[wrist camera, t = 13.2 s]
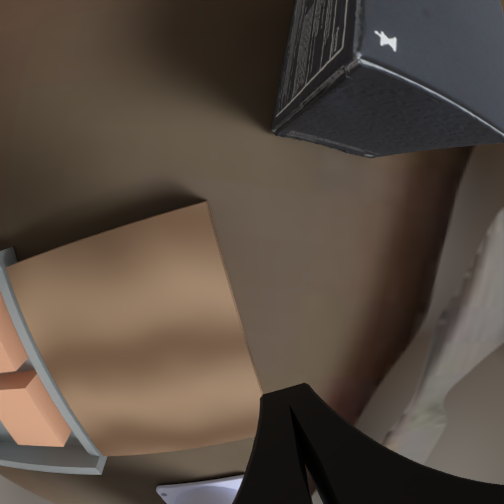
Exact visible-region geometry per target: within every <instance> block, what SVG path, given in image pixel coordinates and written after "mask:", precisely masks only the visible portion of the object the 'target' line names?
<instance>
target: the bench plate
mask: <svg viewBox="0 0 504 504" xmlns="http://www.w3.org/2000/svg"><path fill="white" fill-rule="evenodd" d="M6 271H7V274H8V277H9V280H10V282H11V285H12V288H13V291H14V294H15V296H16V299H17V302H18V304H19V307H20V309H21V312H22V314H23V317H24V319H25V321H26V324H27V326H28V328H29V331H30V333H31V335H32V337H33V339H34V342H35V344H36V346H37V348H38V350H39V352H40V354H41V356H42V358H43V360H44V362H45V364H46V366H47V368H48V370H49V372H50V374H51V375H52V377H53V379H54V381H55V383H56V385H57V386H58V388H59V390H60V392H61V393H62V395H63V397H64V398H65V400H66V402H67V403H68V405H69V407H70V408H71V410H72V411H73V413H74V415H75V416H76V418H77V419H78V421H79V422H80V424H81V425H82V427H83V428H84V430H85V431H86V433H87V434H88V436H89V437H90V439H91V440H92V441H93V443H94V444H95V446H96V447H97V448H98V450H99V451H100V452H101V454H102V455H103V456H124V455H139V454H151V453H161V452H170V451H178V450H185V449H192V448H198V447H204V446H210V445H216V444H221V443H227V442H232V441H236V440H241V439H246V438H250V437H254V436H255V435H256V431H257V426H258V419H259V411H260V398H261V396H262V395H263V392H262V388H261V385H260V382H259V379H258V376H257V372H256V369H255V366H254V362H253V359H252V356H251V353H250V349H249V346H248V343H247V339H246V336H245V333H244V329H243V326H242V322H241V319H240V316H239V312H238V309H237V305H236V302H235V298H234V295H233V291H232V288H231V284H230V281H229V277H228V274H227V270H226V267H225V263H224V260H223V256H222V253H221V249H220V245H219V242H218V238H217V234H216V231H215V227H214V223H213V220H212V216H211V212H210V208H209V205H208V201H207V200H206V201H203V202H199V203H195V204H192V205H188V206H185V207H181V208H178V209H174V210H171V211H168V212H164V213H161V214H157V215H154V216H151V217H147V218H144V219H141V220H138V221H134V222H131V223H128V224H125V225H122V226H119V227H115V228H112V229H109V230H106V231H103V232H100V233H97V234H94V235H91V236H88V237H85V238H82V239H79V240H76V241H73V242H71V243H68V244H65V245H62V246H59V247H56V248H54V249H51V250H48V251H45V252H43V253H40V254H37V255H34V256H32V257H29V258H26V259H24V260H21V261H19V262H17V263H15V264H13V265H10V266H8V267H6Z"/></svg>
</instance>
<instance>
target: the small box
mask: <svg viewBox="0 0 504 504" xmlns="http://www.w3.org/2000/svg"><path fill="white" fill-rule="evenodd" d="M271 130H272V132H273V133H274V134H275V135H276V136H278V135H280V136H281V137H288V138H289V137H293V138H297V139H298V140H306V141H308V142H314V143H316V144H322V145H326V146H329V147H330V148H336V149H339V150H343V151H344V152H346V153H350V154H355V155H360V156H365V157H368V158H375V157H381V156H387V155H393V154H401V153H408V152H415V151H422V150H423V151H424V150H431V149H441V148H450V147H462V146H472V145H481V144H492V143H493V144H494V143H504V15H503V10H502V6H501V2H500V0H295V4H294V10H293V15H292V20H291V23H290V30H289V35H288V40H287V46H286V50H285V56H284V60H283V64H282V70H281V77H280V82H279V85H278V92H277V99H276V104H275V111H274V116H273V122H272V126H271Z"/></svg>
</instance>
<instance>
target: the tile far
mask: <svg viewBox="0 0 504 504" xmlns="http://www.w3.org/2000/svg"><path fill="white" fill-rule="evenodd" d="M0 420H1V422H2V423H3V425H4V426H5V428H6V429H7V430H8V432H9V433H10V435H11V436H12V437H13V439H14V440H15V441H16V443H17V444H18V445H31V446H53V447H64V445H65V443H66V441H67V439H68V437H69V435H70V433H71V431H72V430H71V428H70V427H69V425H68V424H67V422H66V421H65V419H64V418H63V416H62V415H61V413H60V411H59V410H58V408H57V407H56V405H55V403H54V402H53V400H52V399H51V397H50V395H49V393H48V392H47V390H46V388H45V387H44V385H43V383H42V381H41V379H40V378H39V376H38V374H37V372H36V370H29V371H21V372H13V373H4V374H0Z"/></svg>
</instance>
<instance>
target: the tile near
mask: <svg viewBox="0 0 504 504" xmlns="http://www.w3.org/2000/svg"><path fill="white" fill-rule="evenodd" d="M28 358H29V357H28V355H27V353H26V350H25V348H24V346H23V344H22V342H21V340H20V338H19V336H18V333H17V331H16V329H15V327H14V324H13V322H12V319H11V317H10V315H9V312H8V310H7V307H6V305H5V302H4V299H3V297H2V294H1V291H0V373H3V372H12V371H16V370H17V369H18V368H19V367H20V366H21V365H22V364H23V363H24V362H25V361H26V360H27V359H28Z"/></svg>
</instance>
